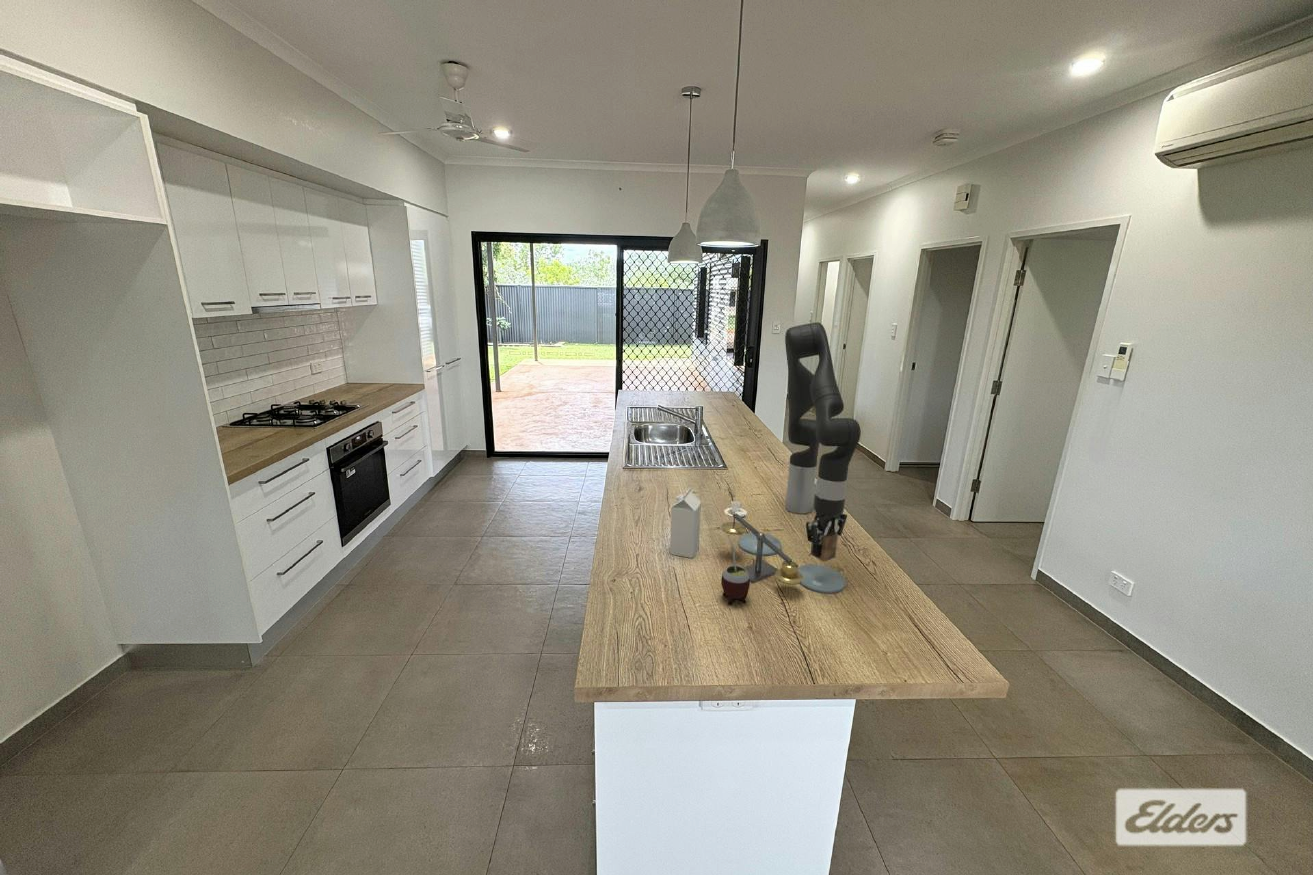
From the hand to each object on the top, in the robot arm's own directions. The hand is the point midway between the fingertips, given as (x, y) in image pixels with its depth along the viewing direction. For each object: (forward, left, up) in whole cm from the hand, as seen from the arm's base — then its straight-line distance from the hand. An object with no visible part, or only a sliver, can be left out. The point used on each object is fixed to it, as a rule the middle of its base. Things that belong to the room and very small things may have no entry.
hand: (822, 553), depth 136 cm
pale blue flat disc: (0, -23, -8) cm, 24 cm away
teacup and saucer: (-8, -45, -9) cm, 46 cm away
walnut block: (0, 0, -1) cm, 1 cm away
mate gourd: (+26, -6, -8) cm, 28 cm away
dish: (0, 0, -8) cm, 8 cm away
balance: (+12, -11, -8) cm, 18 cm away
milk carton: (+22, -32, -8) cm, 40 cm away
